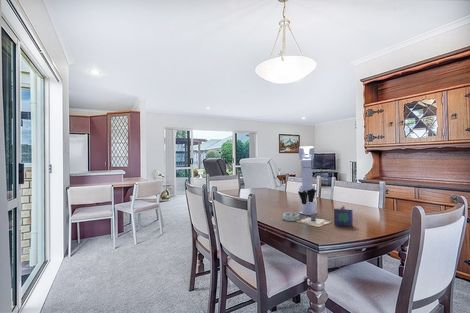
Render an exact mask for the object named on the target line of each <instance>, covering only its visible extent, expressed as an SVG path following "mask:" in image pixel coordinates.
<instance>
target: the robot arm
mask: <svg viewBox="0 0 470 313" xmlns="http://www.w3.org/2000/svg"><path fill="white" fill-rule="evenodd" d="M298 156H299V157H298V159H299V161H300V166H301V167H300V168H301V185H300V186H299V189H298V191H297V193H298V195H299V199H300V201H301V211H299V212H298V214H302V215H305V216H311V214H318V211H317V202H316V200H315V199H316V193H317V189H316V186H315V185H313V169H314V158H315V147H314V146H299V147H298Z"/></svg>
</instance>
